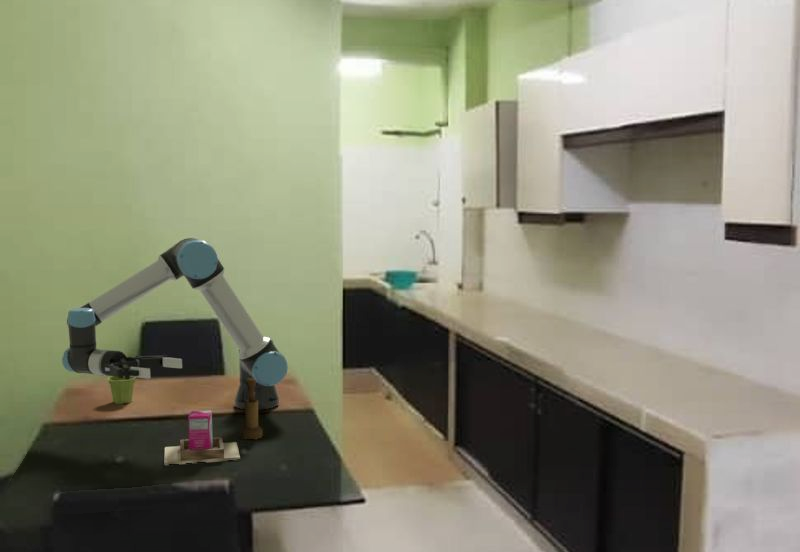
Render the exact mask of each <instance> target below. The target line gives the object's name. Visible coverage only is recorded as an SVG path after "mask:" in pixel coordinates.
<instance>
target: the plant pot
mask: <svg viewBox="0 0 800 552" xmlns="http://www.w3.org/2000/svg"><path fill="white" fill-rule="evenodd" d="M129 377H130V379H128V380H125V376H123V378H118V377H115V376H108V378H107V382H108V384H109V385H110V389H111V396H112V402H113V403H114V404H116V405H122V404H124V403H125V404H130V403H131V402H132V401H133V392H134V387H135V386H134V384H135V381H136V379H137V377H131V376H129Z"/></svg>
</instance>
